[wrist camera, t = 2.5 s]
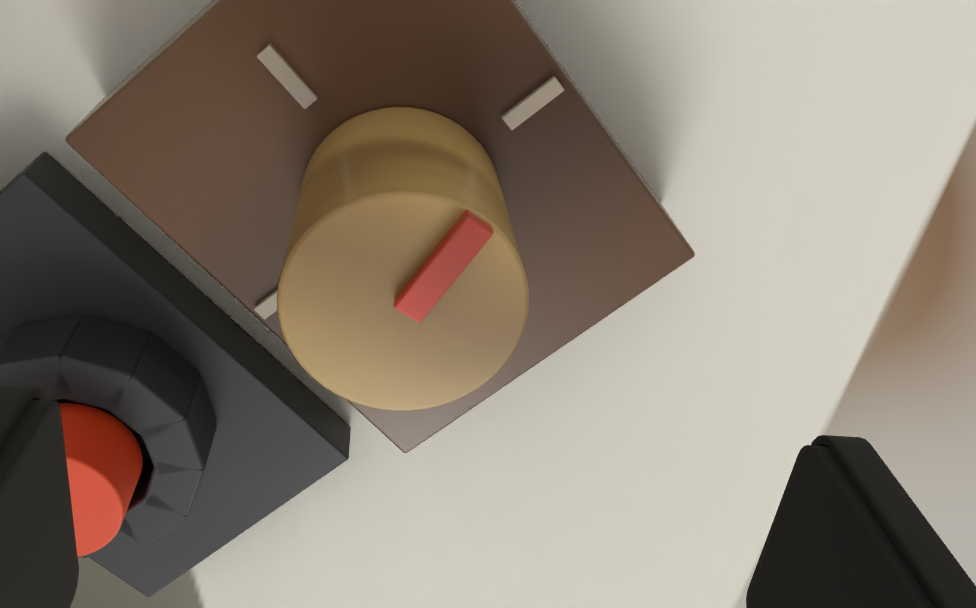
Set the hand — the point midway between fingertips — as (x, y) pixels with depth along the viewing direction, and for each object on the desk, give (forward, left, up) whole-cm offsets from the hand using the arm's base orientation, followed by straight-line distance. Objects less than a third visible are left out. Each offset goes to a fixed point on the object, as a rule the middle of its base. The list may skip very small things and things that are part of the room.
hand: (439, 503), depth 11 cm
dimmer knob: (0, 0, -10) cm, 10 cm away
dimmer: (0, 0, -13) cm, 13 cm away
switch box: (0, -11, -13) cm, 17 cm away
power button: (0, -11, -10) cm, 14 cm away
